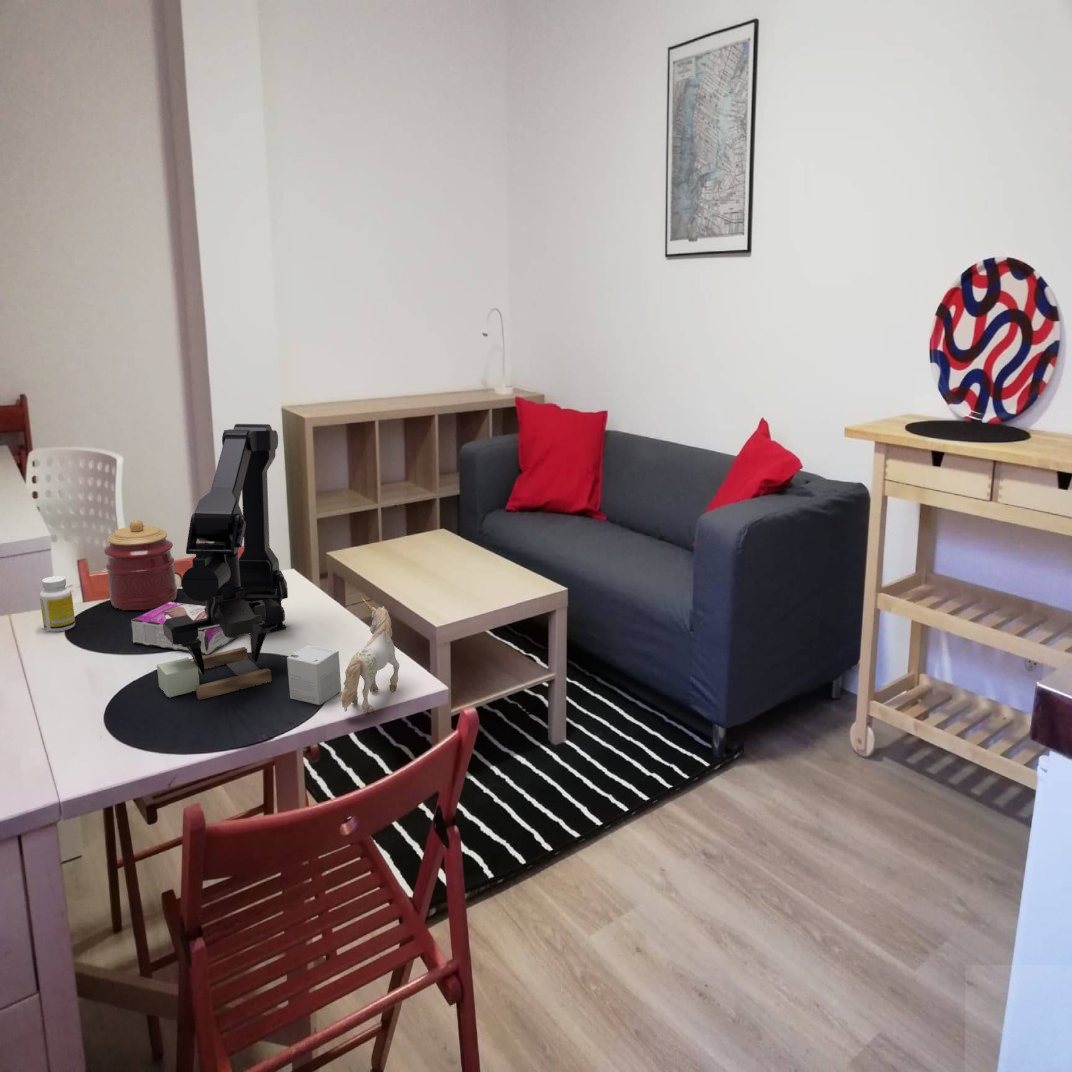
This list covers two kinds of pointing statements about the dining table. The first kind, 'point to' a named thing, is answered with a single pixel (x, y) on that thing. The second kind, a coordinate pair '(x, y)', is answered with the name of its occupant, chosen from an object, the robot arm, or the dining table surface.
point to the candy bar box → (151, 623)
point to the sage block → (178, 677)
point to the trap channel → (241, 667)
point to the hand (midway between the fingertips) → (229, 667)
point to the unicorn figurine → (371, 661)
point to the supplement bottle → (56, 604)
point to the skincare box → (314, 674)
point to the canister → (140, 567)
